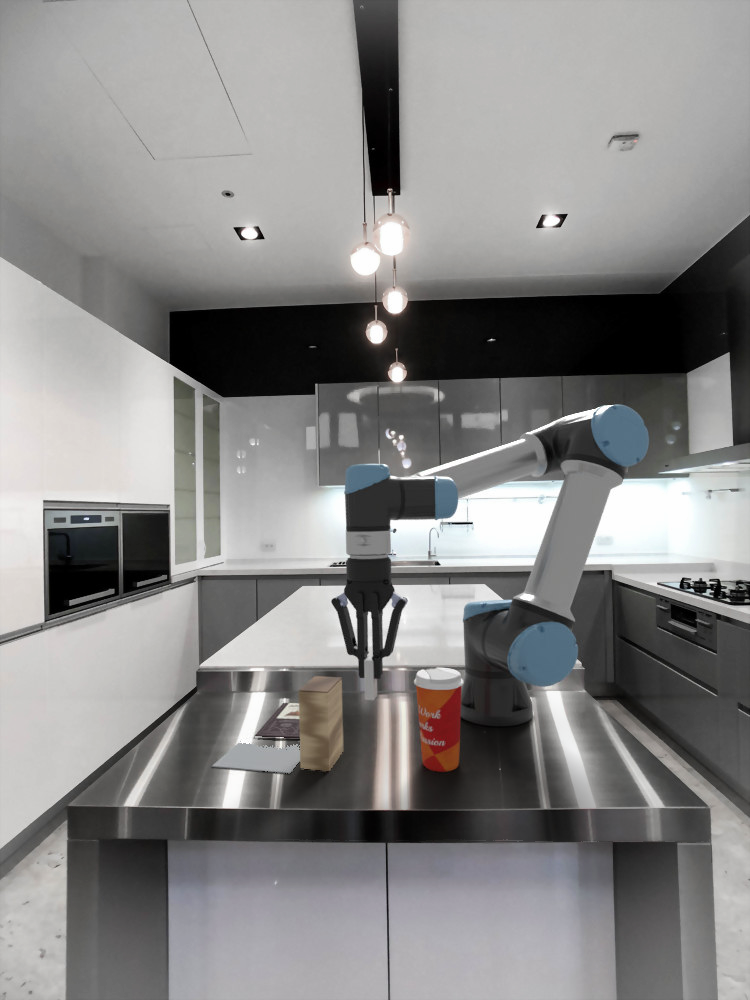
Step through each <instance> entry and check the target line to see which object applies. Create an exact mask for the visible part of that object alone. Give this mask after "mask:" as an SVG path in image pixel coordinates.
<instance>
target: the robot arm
mask: <svg viewBox="0 0 750 1000" xmlns="http://www.w3.org/2000/svg"><path fill="white" fill-rule="evenodd" d="M649 439H650V437H649V431H648V428H647V427H646V425H645V421H644V419H643V418H642V417H641V415H640V414H639V413H638V412H637V411H636V410H634V409H633V408H632V407H629V406H627V405H623V404H612V405H601V406H599V407H597V408H595V409H591V410H586V411H582V412H578V413H573V414H570V415H569V414H568V415H567V416H564V417H561V418H558V419H557V420H554V421H552V422H550V423H548V424H545V425H544V426H541V427H539V428H537V429H534V430H532V431H528V432H524V433H523V434H521V435H520V437H519V439H518V440H516V441H512V442H510V443H506V444H503V445H500V446H498V447H494V448H491V449H489V450H485V451H481V452H478V453H475V454H472V455H468V456H466V457H463V458H460V459H457V460H454V461H453V460H452V461H450V462H447V463H444V464H441V465H437V466H435V467H431V468H428V469H426V470H422V471H419V472H415V473H414V474H410V475H407V476H396V475H391V473H390V467H389V465H388V464H384V463H380V464H379V463H359V464H352V465H350V466H348V467H347V468H346V470H345V477H344V482H345V483H344V492H343V493H344V494H343V495H344V499H345V501H344V504H345V505H344V506H345V507H344V508H345V525H346V526H345V546H346V547H345V551H346V555H347V556H349V557H347V559H346V560H345V563H346V567H345V568H346V584H345V586H344V590H343V592H342V593H341V594H340V595H337V596H335V597H333V598H332V599H331V601H330V602H331V604H332V606H333V608H334V609H335V611H336V612H337V616H338V621H339V624H340V628H341V632H342V636H343V640H344V643H345V644H344V645H345V649H346V652H347V654H348V656H354V657H355V658H357V660H358V662H357V663H358V677H359V679H364V701H375V699H376V697H378V680H380V679H381V678H382V676H383V674H384V671H383V667H384V666H383V663H384V662H383V659H384V658H388V657H390V656H391V655H392V653H394V652H393V651H394V648H395V644H396V640H397V636H398V630H399V627H400V626H399V625H400V621H401V617H402V612H403V610H404V609H405V607H406V606H407V604H408V602H409V601H408V598H407V597H404V596H403V597H402V596H401V595H399V594H398V593H396V592H395V587H394V586H393V582H392V559H391V557H389V556H388V555H390V554H392V553H391V552H392V547H391V545H392V544H391V542H392V541H391V540H392V539H391V538H392V537H391V528H392V527H391V521H404V520H405V521H406V520H408V521H414V520H415V521H420V520H423V521H425V520H426V521H427V520H435V521H438V520H444V519H445V520H446V519H450V518H453V516H454V515H455V513H456V512H457V509H458V505H459V500H460V499H462V498H464V497H467V496H468V497H469V496H471V495H474V494H476V493H480V492H483V491H485V490H488V489H491V488H495V487H497V486H501V485H504V484H507V483H509V482H512V481H516V480H518V479H522V478H525V477H528V476H531V477H534V478H540V477H542V476H545V475H548V474H554V473H562V472H563V474H564V479H563V481H562V485H561V486H560V487H561V488H560V489H559V493H558V495H557V498H556V501H555V503H554V507H553V510H552V513H551V515H550V518H549V520H548V524H547V527H546V530H545V532H544V535H543V538H542V541H541V544H540V546H539V550H538V551H537V554H536V558H535V561H534V563H533V566H532V569H531V571H530V575H529V576H528V580H527V582H526V585H525V588H524V591H523V592H522V593H518V594H517V595H515V596H513V597H512V599H496V600H495V599H494V600H492V599H491V600H479V601H472V602H467V604H465V606H464V608H463V616H462V617H463V618H462V623H463V643H464V645H463V646H464V647H463V648H464V669H465V670H464V678H463V682H464V683H463V685H461V719H463V720H465V721H468V722H470V723H473V724H477V725H481V726H487V727H488V726H489V727H511V726H518V725H522V724H526V723H528V722H530V720H532V718H533V716H534V708H533V707H534V706H533V701H532V698H531V696H530V693H529V689H528V687H527V684H530V685H532V686H534V687H539V688H540V687H544V688H545V687H551V686H555V684H558V683H560V682H562V681H564V679H566V678H567V677H568V676H569V675H570V673H572V671H573V669H574V667H575V665H576V662H577V660H578V655H579V646H578V644H577V639H576V636H575V634H574V632H572V631H573V628H574V625H575V623H576V619H575V617H574V615H573V612H572V611H571V607H572V604H573V601H574V598H575V595H576V592H577V590H578V586H579V583H580V580H581V578H582V575H583V572H584V569H585V566H586V563H587V560H588V558H589V554H590V551H591V548H592V545H593V543H594V540H595V538H596V534H597V532H598V528H599V525H600V522H601V519H602V516H603V513H604V511H605V508H606V505H607V502H608V499H609V496H610V493H611V490H613V489H615V488H617V487H619V486H621V485H622V484H623V483H624V479H625V476H626V473H627V469H628V468H629V467H632V466H635V465H637V464H638V463H640V462H641V461H642V460H643V459H644V458H645V456H646V454H647V452H648V449H649V446H650V445H649V442H650V440H649ZM390 600H391V607H392V608H393V609H392V611H391V612H392V613H391V615H390V620H389V626H388V630H387V633H386V639H385V642H384V639H383V636H384V635H383V613H384V612H383V611H384V609H385V608H386V606H387V605H388V604H389V602H390ZM349 603H350V604H351V606H352V607H353V608H354V609H355V618H356V635H355V631H354V627H353V626H354V625H353V624H352V620H351V616H350V615H351V614H350V611H349V608H348V604H349ZM369 613H370V618H371V633H372V634H371V636H372V637H371V638H372V639H371V640H372V641H371V643H372V656H371V655H370V656H369V653H370V651H369V634H368V633H369V632H368V631H369V629H368V628H369V626H368V625H369V624H368V615H369ZM356 636H357V637H356ZM356 638H357V639H356ZM383 642H384V643H385V644H383Z"/></svg>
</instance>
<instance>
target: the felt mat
mask: <svg viewBox="0 0 750 1000" xmlns="http://www.w3.org/2000/svg"><path fill="white" fill-rule="evenodd" d="M239 742H241V740H240V741H239ZM239 742H238V743H236V744H235V745H234V746H233V747H232V748H231V749H229V750H228V751H227V752H226V753H225V754H223V756H222V757H221V758H219V759H218V760H217V761H216V762H214V763H213V765H211V767H212V768H219V769H231V770H240V771H241V770H243V771H253V772H262V771H265V772H264V773H273V772H275V774H285V773H286V774H285V775H287V773H288V775H290V773H291V772H293V771H294V770H295V769H296V768H297V766H298V765H299V764H300V763H299V762H300V750H299V749H300V748H299V746H300V745H299V746H298V744H296V745H294V744H293V746H292V745H290V747H289V746H288V745H287V747H286V748H283V747H282V749H281V748H279V750H278V748H276V747H274V748H273V745H272V747H271V746H270V747H268V746H267V745H265V746H264V745H263V746H264V748H263V747H262V746H260V747H259V746H258V745H256V746H255V745H254V744H253V745H252V744H250V743H249V744H246V743H243V744H242V743H239ZM297 746H298V747H297ZM266 747H267V748H266ZM277 747H278V746H277ZM286 749H287V750H286ZM298 763H299V764H298ZM297 764H298V765H297ZM296 765H297V766H296ZM295 767H296V768H295ZM294 768H295V769H294ZM293 769H294V770H293ZM267 771H268V772H267ZM276 772H277V773H276ZM291 774H292V773H291Z"/></svg>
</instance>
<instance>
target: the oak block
mask: <svg viewBox="0 0 750 1000" xmlns="http://www.w3.org/2000/svg"><path fill="white" fill-rule="evenodd" d="M342 679H343V678H342V677H341V676H323V675H322V676H319V675H318V676H317V675H315V676H313V677H312V678H311V679H309V680H308V681H307V682H306V683H305V684H304V685H303V686H302V687H301V688H300V689H298V703H299V725H300V740H299V742H300V763H299V764H300V768H304V769H311V770H310V771H315V770H322V771H321V772H326V771H330V772H331V770H332V769H333V768H334V766H335V764H336V762H337V761H338V760H339V759H340V758H341V756H342V754H343V753H344V725H343V724H344V718H343V717H344V716H343V714H344V713H343V712H344V711H343V680H342ZM342 752H343V753H342ZM340 755H341V756H340ZM333 765H334V766H333ZM331 768H332V769H331ZM304 769H303V770H304Z"/></svg>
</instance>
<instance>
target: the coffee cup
mask: <svg viewBox="0 0 750 1000" xmlns="http://www.w3.org/2000/svg"><path fill="white" fill-rule="evenodd" d="M463 680H464V678H462V674H461V672H459V671H458V670H456V669H453V668H448V667H435V668H434V667H430V668H426V669H420V670H418V671H417V673H416V675H415V679H414V680H413V684H414V685H415V688H416V700H417V712H418V725H419V726H418V727H419V737H420V738H419V740H420V747H421V749H420V751H421V758H422V759H421V761H422V765H423V767H424V766H425V767H426V769H427V770H429V771H431V772H436V771H437V772H438V773H447V772H450V771H451V772H452V771H453V770H456V769H457V768H458V767H459V763H460V750H461V749H460V746H461V745H460V743H461V719H462V717H461V687H462V685H463V683H464V682H463ZM425 767H424V768H425Z"/></svg>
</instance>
